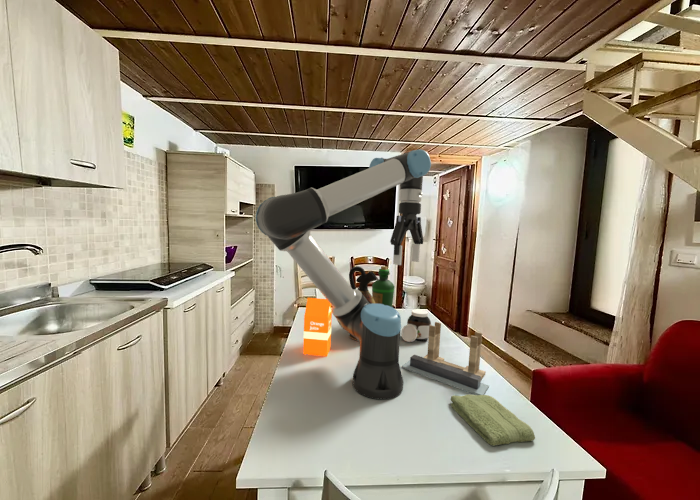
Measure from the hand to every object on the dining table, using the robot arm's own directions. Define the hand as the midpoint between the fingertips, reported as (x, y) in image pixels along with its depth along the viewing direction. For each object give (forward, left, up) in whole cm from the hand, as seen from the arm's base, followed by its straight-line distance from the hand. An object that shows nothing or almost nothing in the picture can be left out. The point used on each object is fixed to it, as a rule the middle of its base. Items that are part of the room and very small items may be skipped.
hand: (406, 263), depth 107 cm
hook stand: (+5, -17, -35) cm, 39 cm away
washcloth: (-17, -34, -35) cm, 52 cm away
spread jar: (+20, +4, -35) cm, 41 cm away
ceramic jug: (+5, +23, -35) cm, 42 cm away
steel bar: (-4, -17, -34) cm, 38 cm away
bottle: (+26, +25, -35) cm, 50 cm away
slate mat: (-4, -17, -35) cm, 39 cm away
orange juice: (-17, +26, -35) cm, 47 cm away
